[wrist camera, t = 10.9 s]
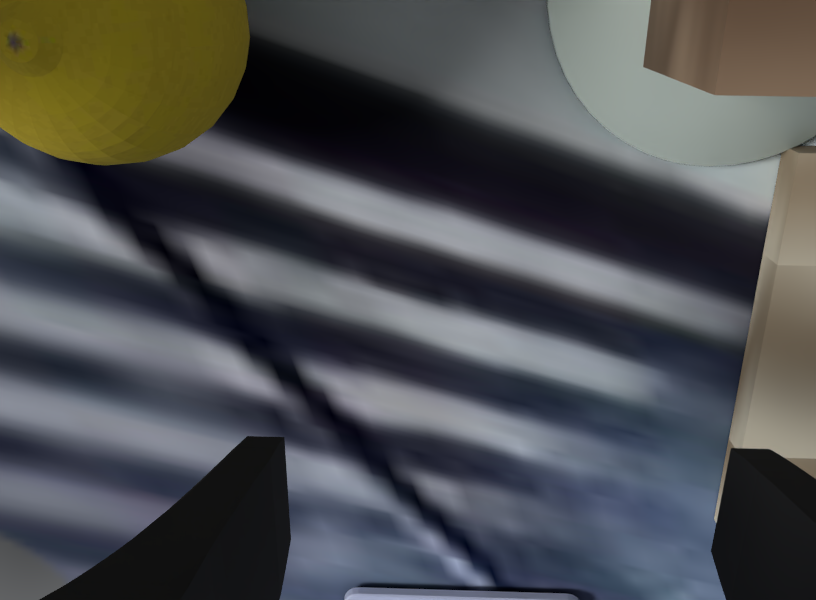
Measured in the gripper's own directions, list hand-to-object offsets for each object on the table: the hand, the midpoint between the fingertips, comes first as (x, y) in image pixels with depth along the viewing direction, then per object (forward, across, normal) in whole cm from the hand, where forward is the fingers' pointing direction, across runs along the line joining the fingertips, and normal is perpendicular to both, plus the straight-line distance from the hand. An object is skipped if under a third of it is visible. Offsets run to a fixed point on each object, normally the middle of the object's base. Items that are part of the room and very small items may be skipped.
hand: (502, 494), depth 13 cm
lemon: (+11, +8, -7) cm, 15 cm away
